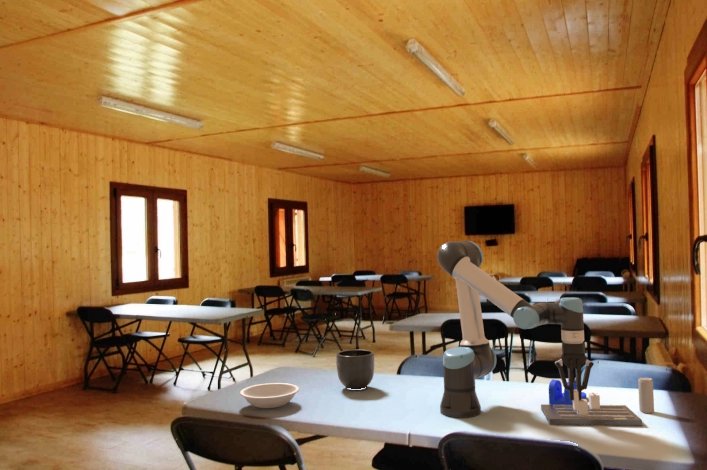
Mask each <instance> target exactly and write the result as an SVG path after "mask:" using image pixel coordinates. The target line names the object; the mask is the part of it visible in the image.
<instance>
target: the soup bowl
mask: <svg viewBox="0 0 707 470" xmlns="http://www.w3.org/2000/svg"><path fill="white" fill-rule="evenodd" d="M299 391H300V386H298V385H296V384H292V383H286V382H285V383H284V382H268V383H260V384H259V383H258V384H253V385H250V386H248V387H247V386H246V387H244V388H243V389H240V392H239V395H240V396H242V397H243V398H244V400H245V401H247V403H248V404H250V405H251V406H253V407H255V408H260V409H274V408H278V407H283V406H285V405H286V404H288V403H290V401H292V400H293V398H294V397H295V395H296V393H298V392H299Z"/></svg>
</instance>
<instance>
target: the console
mask: <svg viewBox="0 0 707 470" xmlns="http://www.w3.org/2000/svg"><path fill="white" fill-rule="evenodd" d="M540 410H541V412H542V414H543V416H545V419H546V420H547V422H548V424H549V425H551V426H595V427H596V426H602V427H603V426H608V427H611V426H612V427H614V426H615V427H643V420H642V419H641V418H640V416H638V415H637V414H636V413H634V411H633V410H631V409H630V408H629V407H628V406H627V405H625V404H624V405H623V404H620V405H619V404H617V405H616V404H614V405H613V404H600V409H591V408H590V407H589V404H588V415H578V413H577V410H574V409H573V405H551V404H540Z"/></svg>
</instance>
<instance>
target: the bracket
mask: <svg viewBox="0 0 707 470" xmlns="http://www.w3.org/2000/svg"><path fill="white" fill-rule="evenodd" d="M567 384H568V386H569V381H567ZM574 390H577V388H576V383H575V382H574ZM581 395H582V399H586V400H587V393H586V392H583V391H581ZM548 403H549V404H548V405H573V400H571V399H570V397H569V390H567V389H565V388H564V387H563V383H562V381H561V380H559V379H551V380H550V382H549V385H548Z"/></svg>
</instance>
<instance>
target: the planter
mask: <svg viewBox="0 0 707 470" xmlns="http://www.w3.org/2000/svg"><path fill="white" fill-rule="evenodd" d="M335 357H336V358H335V363H336V372H337V377H338V379H339V381H340V383H341V384H342V385H343V386H344V387H345V389H346V388H351V389H361V388H365V387H368V386H369V385H370V383H371V382H372V380H373V378H374V374H375V352H374V351H372V350H369V349H346V350H345V349H344V350H342V351H341V350H340V351H337V352H336V354H335Z"/></svg>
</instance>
